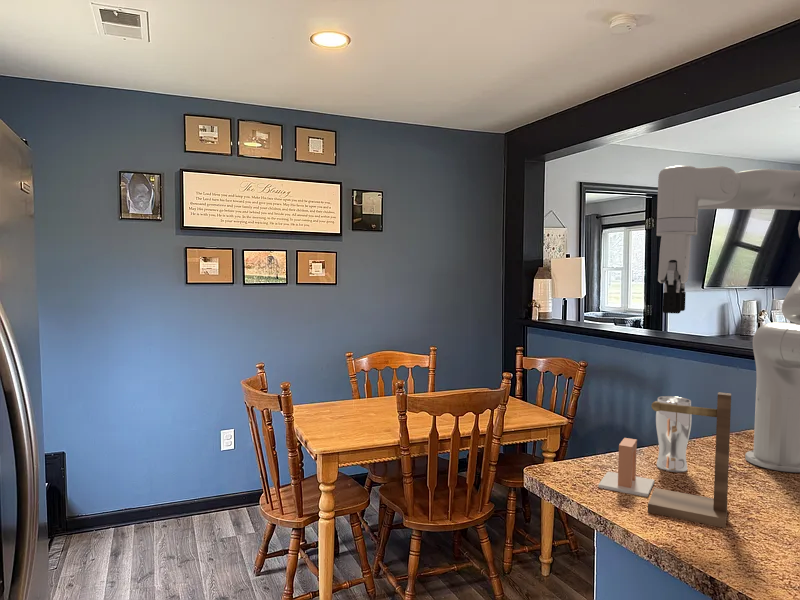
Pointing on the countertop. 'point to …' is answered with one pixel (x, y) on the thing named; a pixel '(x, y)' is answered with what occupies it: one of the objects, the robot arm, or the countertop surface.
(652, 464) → the countertop surface
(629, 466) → the link
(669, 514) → the stand
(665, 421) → the beer glass
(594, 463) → the countertop surface
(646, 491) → the trivet
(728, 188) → the robot arm
